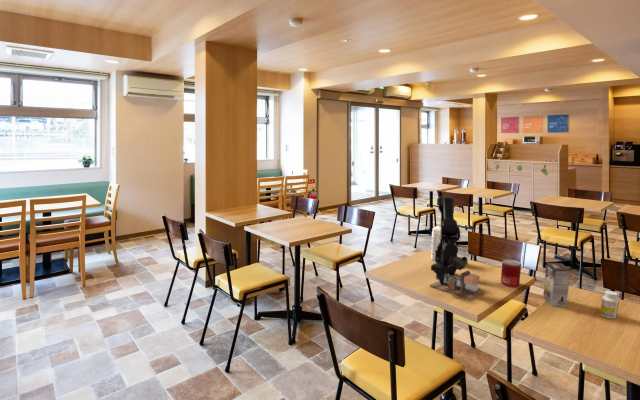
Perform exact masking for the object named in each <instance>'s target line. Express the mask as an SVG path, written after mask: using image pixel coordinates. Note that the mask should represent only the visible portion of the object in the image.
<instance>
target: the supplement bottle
mask: <svg viewBox="0 0 640 400" xmlns="http://www.w3.org/2000/svg"><path fill="white" fill-rule="evenodd" d="M618 295H619V293H618V292H615V291H612V290H605V291H604V295H603V296H602V299H601V304H600V305H601V306H600V315H601V316H602V317H604V318H608V319H616V318H617V317H618V312H619V304H620V299H618V297H619V296H618Z"/></svg>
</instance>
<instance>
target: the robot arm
mask: <svg viewBox="0 0 640 400" xmlns="http://www.w3.org/2000/svg"><path fill="white" fill-rule="evenodd" d="M436 206H437V209H438V211H439V212H440V227H441V229H440V243H439V244H438V246H437V250H435V261H434V263H433V264H431V266H430V271H433V272H434V273H435V274H436V275H437V276H438V279H439V280H438V281H440V283H441V284H443V283H444V278H445V274H449V275H452V276H455V274H456V272H457V270H459V271H462V270H464V269H465V268H466V266H467V265H469V264H468V257H466V256H462V257H461V256H458V253H459V249H458V245H457V243H456V241H457V242H458V241H460V239H461V230H460V227H459V226H458V223H457V222H458V221H457V220H456V219H455V218H454V207H455V206H456V198H454V197H453V196H443V195H442V196H438V197H437V199H436ZM437 257H438V258H437Z"/></svg>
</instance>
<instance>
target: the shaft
mask: <svg viewBox="0 0 640 400" xmlns="http://www.w3.org/2000/svg"><path fill="white" fill-rule="evenodd" d="M435 278H436V280H437V281H439V279H438V276H437V274H436V276H435ZM448 279H451V280H454V281H455V286H458V287H460V279H461V277H458V276H455V275H454V276H452V275H449V274H445V278H444V282H445V283H448ZM464 289H467V290H471V291H474V292H475V291H477V290H478V289H479V283H477V284H475V285H473V286H472V285H468V284H465V283H464Z"/></svg>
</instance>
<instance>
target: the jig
mask: <svg viewBox="0 0 640 400" xmlns="http://www.w3.org/2000/svg"><path fill="white" fill-rule="evenodd" d="M469 274H471V271H470V270H466V271H464V272H462V273H460V278H461V279H460V287H458V286H455V281H454V280H451V279H448V283H445V282H444V283H443V284H441V283H440V281H439V280H437V281H436V282H433V283H431V284H429V287H430V288H432V289H435V290H438V291H441V292H444V293H447V294H449V295H453V296H456V297H458V298H462V299H464V300H468V301H471V300H473V299H475V298H477V297H478V296H481V295H483V294H484V290H481V289H479V288H478V290H477V291H475V292H474V291H471V290H467V289H464V276H467V275H469Z"/></svg>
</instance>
